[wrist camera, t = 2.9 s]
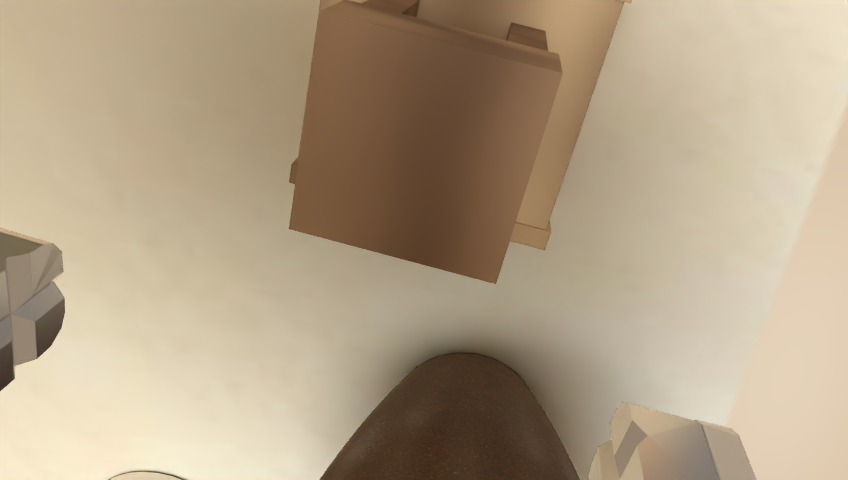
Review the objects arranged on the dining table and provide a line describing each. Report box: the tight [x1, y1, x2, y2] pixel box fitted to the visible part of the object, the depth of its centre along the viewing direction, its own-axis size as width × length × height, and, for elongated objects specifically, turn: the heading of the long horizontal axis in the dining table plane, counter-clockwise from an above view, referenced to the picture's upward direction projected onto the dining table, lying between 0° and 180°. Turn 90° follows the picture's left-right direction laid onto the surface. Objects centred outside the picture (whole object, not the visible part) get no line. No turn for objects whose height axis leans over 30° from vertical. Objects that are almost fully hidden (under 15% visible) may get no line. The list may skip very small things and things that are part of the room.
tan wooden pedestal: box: [289, 0, 632, 250], centre depth 26 cm, size 10×10×5 cm
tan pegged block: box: [289, 0, 563, 284], centre depth 21 cm, size 6×6×8 cm
